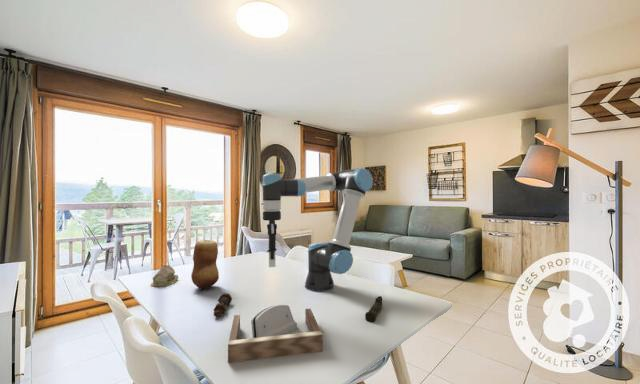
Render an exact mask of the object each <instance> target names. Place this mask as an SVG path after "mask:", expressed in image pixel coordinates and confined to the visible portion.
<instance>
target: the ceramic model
mask: <svg viewBox="0 0 640 384" xmlns="http://www.w3.org/2000/svg"><path fill="white" fill-rule="evenodd" d="M175 273H176V271H175V269H174V268H173V267H172V266H171V265H169V264H164V265H163V266H162V267H161V268H160V269H159V270H158V271H157V273H156V274H155V275H154V276H153V277H152V281H153V282H151V283H150V287H153V288H154V287H166V286H170V285H173V284H174V283H176V282H177V281H178V279H179V275H178V274H175Z"/></svg>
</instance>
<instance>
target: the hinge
mask: <svg viewBox="0 0 640 384" xmlns="http://www.w3.org/2000/svg"><path fill="white" fill-rule="evenodd" d="M250 324H251V332H252V333H251V334H252V338H259V337H269V336H278V335H287V334H288V333H289V334H290V332H293V331H294V330H296V329H298V324H297V322H296V321H295V320H294V317H293V314H292V310H291V307H290V306H289V305H286V304H277V305H270V306H268V307H266V308H264V309H262V310H260V311H259V312H258V313H256V315H254V316H253V317H252V318H251V322H250Z"/></svg>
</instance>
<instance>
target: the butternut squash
mask: <svg viewBox="0 0 640 384" xmlns="http://www.w3.org/2000/svg"><path fill="white" fill-rule="evenodd" d="M218 255H219V247H218V242H217V241H216V240H214V239H213V240H211V239H200V240H198V241H197V242H196V243H195V245H194V249H193V255H192V260H193V267H192V271H191V274H190V275H191V276H190V277H191V282H192V284H194V285H195V287H197V288H198V289H199V290H201V291H203V290H206V289H209V288H211V287H213V286H214V285H215V284H216V283H217V282H218V281H219V279H220V277H219V276H220V275H219V273H220V272H219V269H218V266H217V260H218Z"/></svg>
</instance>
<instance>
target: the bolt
mask: <svg viewBox="0 0 640 384" xmlns="http://www.w3.org/2000/svg"><path fill="white" fill-rule="evenodd" d="M232 300H233V297H232V296H231V294H230V293H226V292H225V293H222V294H221V295H220V297H219V298H218V300H217V301H218V303H217V304H216V305H215V307H214V308H213V316H214V318H220V317H222V315H225V312H226V311H227V306H229V305H230V304H231V302H232Z"/></svg>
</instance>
